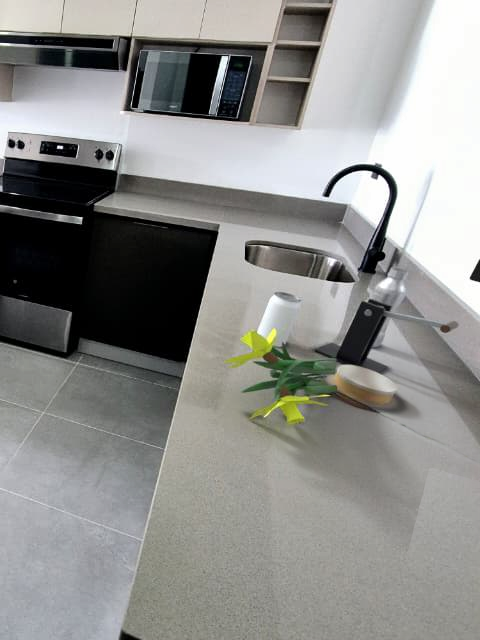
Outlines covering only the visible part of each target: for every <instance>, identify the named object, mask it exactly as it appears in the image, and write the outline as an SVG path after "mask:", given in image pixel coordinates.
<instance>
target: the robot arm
mask: <svg viewBox="0 0 480 640" xmlns="http://www.w3.org/2000/svg"><path fill="white" fill-rule="evenodd" d="M469 280H470V281H473V282H477V283H480V258H479V259H478V261H477V263H476V264H475V267H474V268H473V270H472V272H471V274H470V276H469Z"/></svg>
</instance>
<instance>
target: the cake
mask: <svg viewBox="0 0 480 640" xmlns="http://www.w3.org/2000/svg"><path fill="white" fill-rule="evenodd" d="M332 385H336V386H337V390H339V391H340V392H339V391H337V392H331V393H330V394H331V395H333V396H334V397H335V398H338V399H339V400H341V401H343V402H344V403H347V404H349V405H351V406H354V407H356V408H358V409H361V410H365V411H367V412H372V413H376V414H381V411H378V410H376V409H374V408H372V407H370V406H368V405H366V404H364V403H368V404H372V405H378V406H385V405H388V404H389V403H390V402H391V400H392V399H393V396H394V395H395V394H396V393H397V391H398V386H397V385H396V383H395V382H394V381H393V380H391V379H390V378H388V377H386V376H385V375H383V374H381V373H380V372H379V373H377V372H375V371H372V370H369V369H366V368H363V367H359V366H354V365H344V364H340V365H338V366H337V368H336V373H335V375H334V377H333V378H332ZM360 401H361V402H360ZM363 402H364V403H363Z"/></svg>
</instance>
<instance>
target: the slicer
mask: <svg viewBox="0 0 480 640" xmlns="http://www.w3.org/2000/svg"><path fill="white" fill-rule="evenodd" d="M377 305H378V306H377ZM380 306H383V307H384V308H383V307H380ZM391 308H392V306H391V305H388V304H385V303H382V302H379V301H376V300H373V299H371V298H368V300H367V301H365V300H362V301H361V302H360V304H359V306H358V308H357V310H356V312H355V315H354V317H353V319H352V321H351V323H350V325H349V327H348V329H347V331H346V334H345V335H344V338H343V340H342V342H341V344H340V345H339V344H336V343H333V342H331V343H327V344H325V345H323V346H321V347H318V348H315V349H314V353H317V354H319V355H322V356H324V357H325V358H335V359H337V360H336V361H335V362H336V363H339V364H340V365H354V366H359V367H363V368H366V369H369V370H372V371H375V372H377V373H379V374H380V373H381V372H383V371H385V370H387V368H388V367H389V366H388V365H385V364H383V363H381V362H378V361H376V360H374V359H372V358H369V354H370V353H371V351H372V349H373V345H374V343H375V341H376V339H377V337H378V335H379V333H380V331H381V329H382V327H383V325H384V323H385V321H386V319H387V317H386V316H382V315H383V313H384V311H389V312H390V311H391Z"/></svg>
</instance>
